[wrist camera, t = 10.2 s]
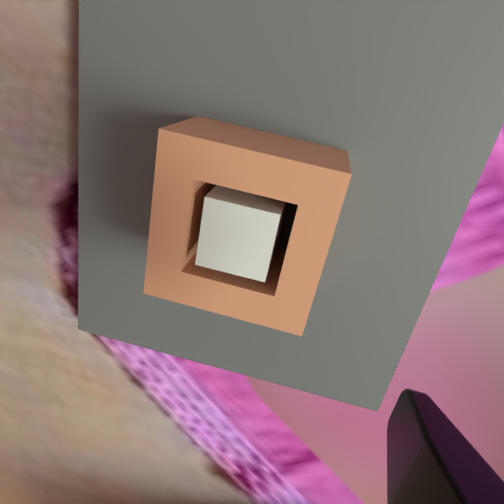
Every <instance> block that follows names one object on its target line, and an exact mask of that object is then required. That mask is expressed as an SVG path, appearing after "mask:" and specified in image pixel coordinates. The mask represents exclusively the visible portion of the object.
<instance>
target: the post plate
mask: <svg viewBox="0 0 504 504" xmlns="http://www.w3.org/2000/svg"><path fill="white" fill-rule="evenodd" d="M196 116H199V117H204V118H208V119H212V120H217V121H221V122H225V123H229V124H234V125H238V126H242V127H247V128H251V129H255V130H260V131H264V132H268V133H273V134H277V135H281V136H285V137H290V138H294V139H298V140H303V141H307V142H311V143H316V144H320V145H324V146H328V147H333V148H337V149H341V150H346V151H347V153H348V158H349V163H350V167H351V172H352V176H351V179H350V182H349V185H348V189H347V192H346V195H345V198H344V202H343V205H342V208H341V211H340V215H339V218H338V221H337V224H336V228H335V231H334V234H333V237H332V241H331V244H330V247H329V250H328V254H327V257H326V260H325V263H324V267H323V270H322V273H321V276H320V280H319V283H318V286H317V289H316V293H315V296H314V299H313V302H312V306H311V309H310V312H309V315H308V319H307V322H306V325H305V328H304V332H303V335H302V336H299V335H295V334H291V333H288V332H284V331H280V330H276V329H273V328H269V327H265V326H262V325H258V324H254V323H251V322H247V321H243V320H240V319H236V318H232V317H229V316H225V315H221V314H217V313H214V312H210V311H206V310H203V309H199V308H195V307H192V306H188V305H184V304H181V303H177V302H173V301H170V300H166V299H162V298H159V297H155V296H151V295H147V294H144V293H143V292H144V281H145V270H146V260H147V249H148V238H149V228H150V217H151V206H152V195H153V185H154V174H155V163H156V153H157V142H158V131H159V128H162V127H165V126H168V125H171V124H174V123H178V122H181V121H184V120H187V119H190V118H193V117H196ZM503 123H504V0H79V147H78V329H79V330H83V331H86V332H90V333H93V334H97V335H101V336H104V337H108V338H112V339H115V340H119V341H123V342H126V343H130V344H134V345H137V346H141V347H144V348H148V349H152V350H155V351H159V352H163V353H166V354H170V355H174V356H177V357H181V358H185V359H188V360H192V361H195V362H199V363H203V364H206V365H210V366H214V367H217V368H221V369H225V370H228V371H232V372H236V373H239V374H243V375H247V376H250V377H254V378H257V379H261V380H265V381H268V382H272V383H276V384H279V385H283V386H287V387H290V388H294V389H298V390H301V391H305V392H308V393H312V394H316V395H319V396H323V397H327V398H330V399H334V400H338V401H341V402H345V403H349V404H353V405H356V406H359V407H363V408H367V409H370V410H374V411H378V409H379V407H380V404H381V402H382V400H383V397H384V395H385V393H386V391H387V388H388V386H389V384H390V381H391V379H392V377H393V375H394V372H395V370H396V368H397V365H398V363H399V361H400V358H401V356H402V354H403V352H404V350H405V347H406V345H407V343H408V340H409V338H410V336H411V334H412V331H413V329H414V326H415V324H416V322H417V320H418V317H419V315H420V313H421V310H422V308H423V306H424V304H425V301H426V299H427V297H428V295H429V292H430V290H431V288H432V285H433V283H434V281H435V279H436V276H437V274H438V272H439V269H440V267H441V265H442V263H443V260H444V258H445V256H446V253H447V251H448V249H449V247H450V244H451V242H452V240H453V237H454V235H455V233H456V231H457V228H458V226H459V224H460V221H461V219H462V217H463V215H464V212H465V210H466V208H467V205H468V203H469V201H470V199H471V196H472V194H473V192H474V189H475V187H476V185H477V183H478V180H479V178H480V176H481V173H482V171H483V169H484V167H485V164H486V162H487V160H488V157H489V155H490V153H491V151H492V148H493V146H494V144H495V141H496V139H497V137H498V135H499V132H500V130H501V128H502V125H503ZM297 207H298V205H296V204H292V203H288V202H284V201H280V200H276V199H272V198H268V197H264V196H260V195H256V194H252V193H248V192H243V191H239V190H235V189H231V188H227V187H223V186H219V185H216V186H215V187H214V188H213V189H212V190H211V191H210V192H209V193H208V194H207V195H206V196H205V198H204V205H203V212H202V219H201V226H200V233H199V240H198V247H197V254H196V261H195V265H198V266H202V267H206V268H210V269H214V270H218V271H222V272H226V273H230V274H234V275H238V276H242V277H246V278H249V279H253V280H257V281H261V282H265V280H266V277H267V274H268V271H269V268H270V265H271V261H272V258H273V255H274V252H275V249H280V250H284V251H286V250H287V246H288V242H289V238H290V234H291V230H292V226H293V222H294V219H295V215H296V211H297Z"/></svg>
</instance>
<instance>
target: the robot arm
mask: <svg viewBox="0 0 504 504" xmlns="http://www.w3.org/2000/svg"><path fill="white" fill-rule="evenodd" d="M387 498H388V499H387V500H388V504H504V482H503V480H502V479H501V478H500V477H499V476H498V475H497V473H495V471H494V470H493V469H492V468H491V467H490V465H489V464H488V463H487V462H486V461H485V460H484V459H483V457H482V456H481V455H480V454H479V453H478V452H477V451H476V449H475V448H473V446H472V445H471V444H470V443H469V442H468V440H467V439H466V438H465V437H464V436H463V435H462V434H461V432H460V431H459V430H458V429H457V428H456V427H455V426H454V424H453V423H452V422H451V421H450V420H449V419H448V418H447V417H446V415H445V414H444V413H443V412H442V411H441V410H440V408H439V407H438V406H437V405H436V404H435V403H434V402H433V400H432V399H431V398H430V397H429V396H428V395H427V394H425V393H422V392H418V391H414V390H411V389H405V390H403V391H402V393H401V394H400V396H399V399H398V401H397V403H396V405H395V407H394V409H393V411H392V414H391V416H390V418H389V422H388V428H387Z"/></svg>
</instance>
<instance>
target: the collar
mask: <svg viewBox="0 0 504 504" xmlns="http://www.w3.org/2000/svg"><path fill="white" fill-rule="evenodd" d="M351 176H352V172H351V167H350V163H349V158H348V153H347V151H346V150H341V149H337V148H333V147H328V146H324V145H320V144H316V143H311V142H307V141H303V140H298V139H294V138H290V137H285V136H281V135H277V134H273V133H268V132H264V131H260V130H255V129H251V128H247V127H242V126H238V125H234V124H229V123H225V122H221V121H217V120H212V119H208V118H204V117H199V116H196V117H193V118H190V119H187V120H184V121H181V122H178V123H174V124H171V125H168V126H165V127H162V128H159V131H158V142H157V153H156V163H155V174H154V185H153V195H152V206H151V217H150V228H149V238H148V249H147V260H146V270H145V281H144V292H143V293H144V294H147V295H151V296H155V297H159V298H162V299H166V300H170V301H173V302H177V303H181V304H184V305H188V306H192V307H195V308H199V309H203V310H206V311H210V312H214V313H217V314H221V315H225V316H229V317H232V318H236V319H240V320H243V321H247V322H251V323H254V324H258V325H262V326H265V327H269V328H273V329H276V330H280V331H284V332H288V333H291V334H295V335H299V336H302V335H303V332H304V328H305V325H306V322H307V319H308V315H309V312H310V309H311V306H312V302H313V299H314V296H315V293H316V289H317V286H318V283H319V280H320V276H321V273H322V270H323V267H324V263H325V260H326V257H327V254H328V250H329V247H330V244H331V241H332V237H333V234H334V231H335V228H336V224H337V221H338V218H339V215H340V211H341V208H342V205H343V202H344V198H345V195H346V192H347V189H348V185H349V182H350V179H351ZM216 185H219V186H223V187H227V188H231V189H235V190H239V191H243V192H248V193H252V194H256V195H260V196H264V197H268V198H272V199H276V200H280V201H284V202H288V203H292V204H296V205H298V207H297V211H296V215H295V219H294V222H293V226H292V230H291V234H290V238H289V242H288V246H287V250H286V251H284V250H280V249H275V252H274V255H273V258H272V261H271V265H270V268H269V271H268V274H267V277H266V280H265V282H261V281H257V280H253V279H249V278H246V277H242V276H238V275H234V274H230V273H226V272H222V271H218V270H214V269H210V268H206V267H202V266H198V265H195V261H196V254H197V247H198V240H199V233H200V226H201V219H202V212H203V205H204V198H205V196H206V195H207V194H208V193H209V192H210V191H211V190H212V189H213V188H214V187H215V186H216Z"/></svg>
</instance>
